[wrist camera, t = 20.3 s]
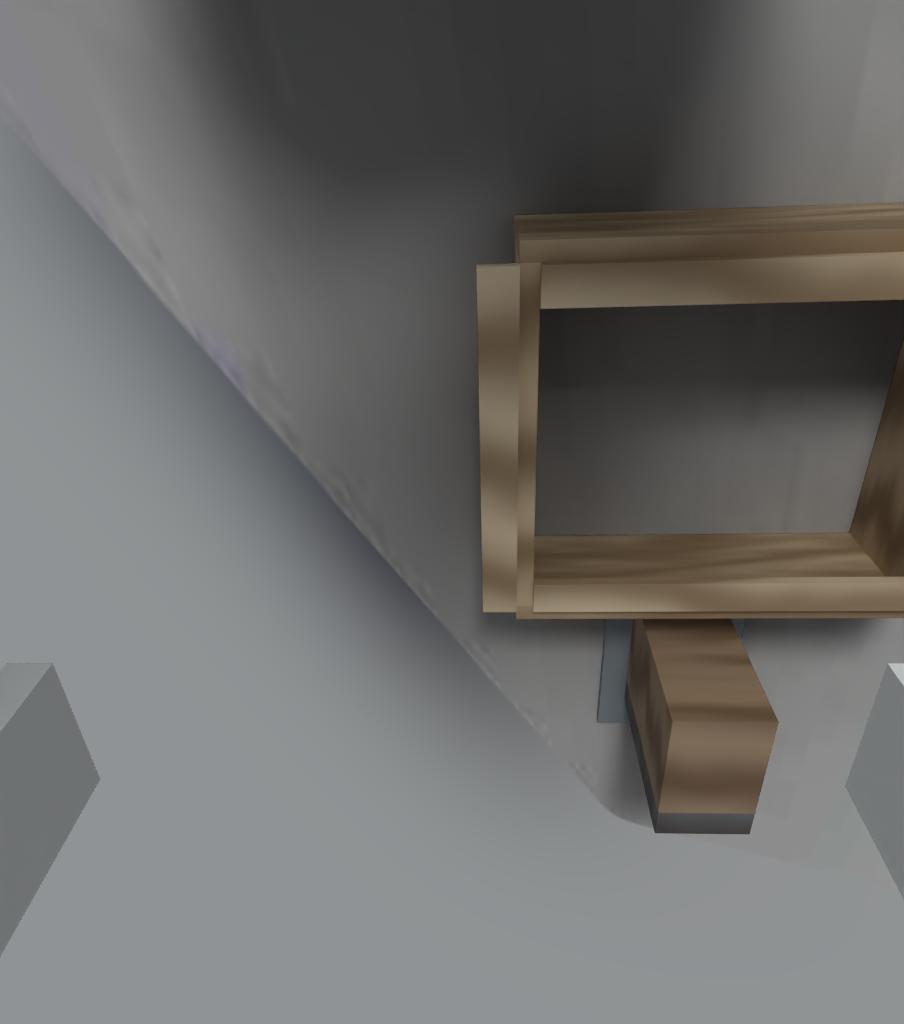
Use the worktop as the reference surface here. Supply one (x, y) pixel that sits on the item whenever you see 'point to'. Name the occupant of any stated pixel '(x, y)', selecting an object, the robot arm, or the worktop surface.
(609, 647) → the mat
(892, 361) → the worktop surface
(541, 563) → the wooden crate
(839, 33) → the worktop surface
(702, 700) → the block
